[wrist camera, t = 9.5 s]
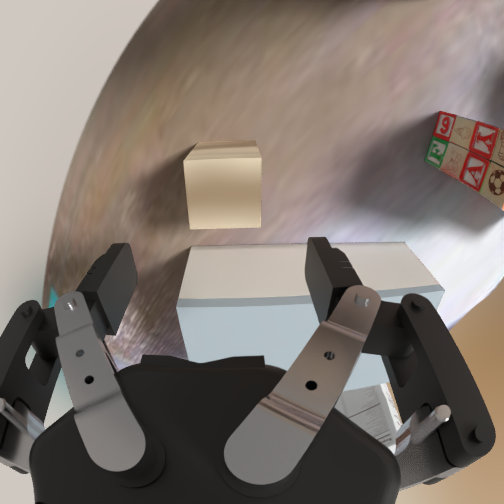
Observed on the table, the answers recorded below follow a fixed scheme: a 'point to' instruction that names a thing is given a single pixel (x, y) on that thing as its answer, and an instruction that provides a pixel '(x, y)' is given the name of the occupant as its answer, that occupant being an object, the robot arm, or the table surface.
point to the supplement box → (372, 412)
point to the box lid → (273, 330)
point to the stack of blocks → (470, 154)
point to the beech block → (223, 185)
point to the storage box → (293, 269)
